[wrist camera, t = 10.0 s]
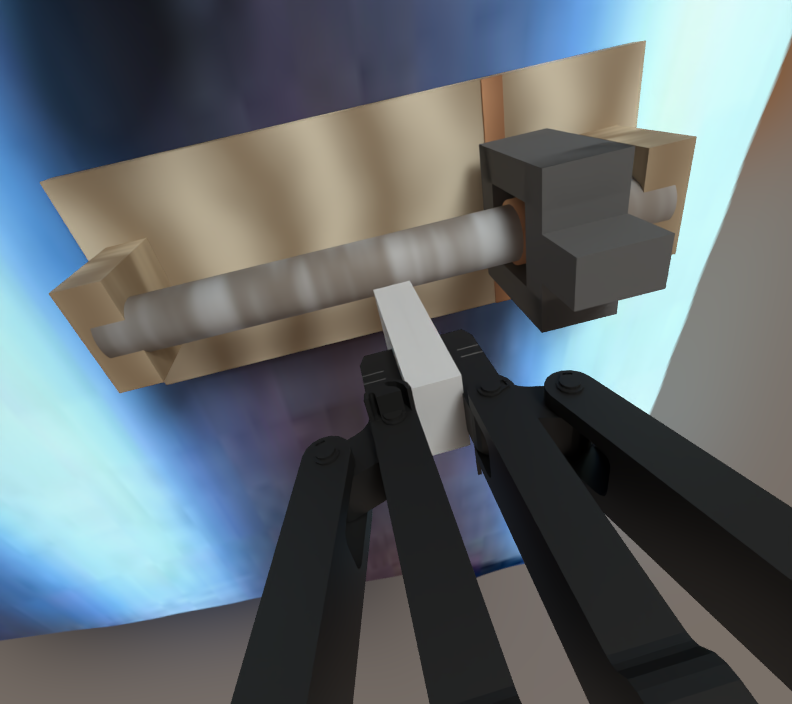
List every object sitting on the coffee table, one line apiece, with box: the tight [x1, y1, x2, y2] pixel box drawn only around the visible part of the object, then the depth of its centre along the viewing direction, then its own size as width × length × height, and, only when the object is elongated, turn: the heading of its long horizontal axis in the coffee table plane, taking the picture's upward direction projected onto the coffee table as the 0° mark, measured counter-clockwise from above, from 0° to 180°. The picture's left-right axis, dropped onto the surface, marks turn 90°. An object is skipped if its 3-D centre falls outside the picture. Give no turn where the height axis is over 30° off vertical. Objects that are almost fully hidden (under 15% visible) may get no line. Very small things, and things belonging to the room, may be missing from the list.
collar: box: [479, 128, 675, 333], centre depth 22 cm, size 4×8×11 cm, turn 11°
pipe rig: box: [40, 41, 697, 393], centre depth 25 cm, size 34×14×8 cm, turn 101°
